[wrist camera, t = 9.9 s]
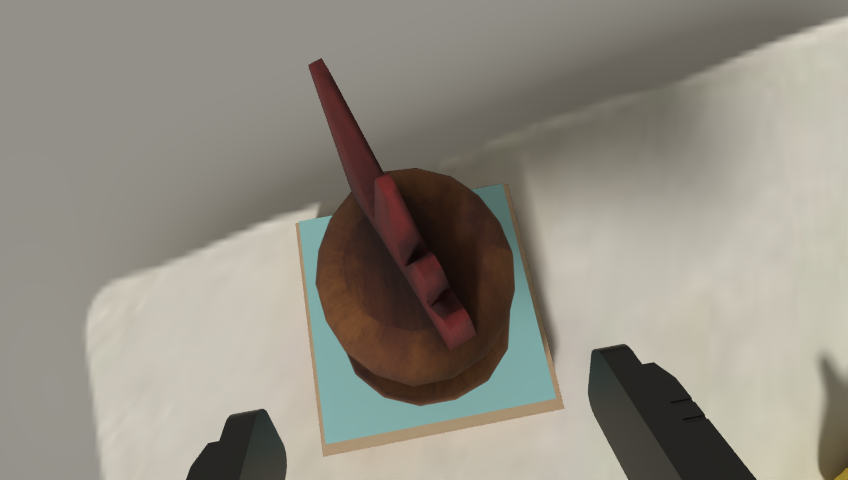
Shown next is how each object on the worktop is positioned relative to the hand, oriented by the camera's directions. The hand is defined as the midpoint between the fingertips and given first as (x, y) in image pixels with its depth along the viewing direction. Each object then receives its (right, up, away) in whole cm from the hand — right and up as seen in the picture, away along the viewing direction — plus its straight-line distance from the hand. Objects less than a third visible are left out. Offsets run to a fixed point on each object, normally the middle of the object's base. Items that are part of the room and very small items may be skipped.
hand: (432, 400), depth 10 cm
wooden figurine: (0, +1, +9) cm, 9 cm away
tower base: (0, 0, +15) cm, 15 cm away
